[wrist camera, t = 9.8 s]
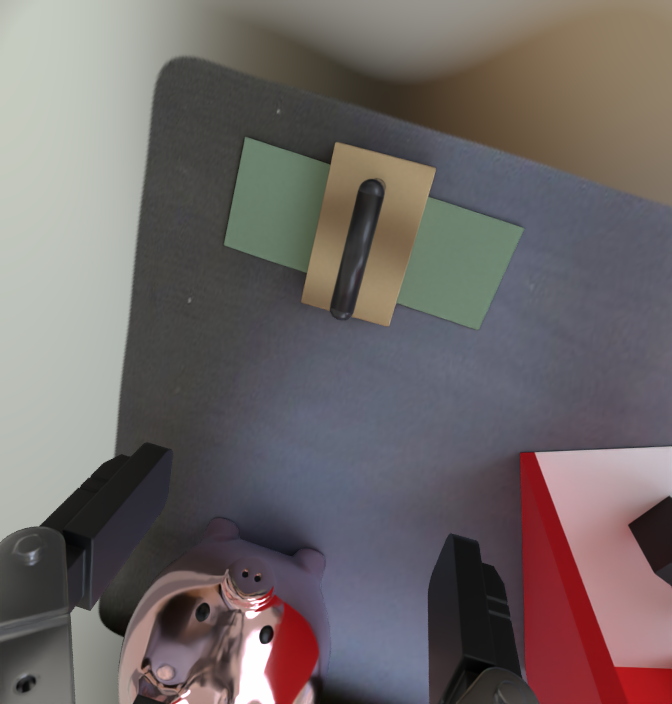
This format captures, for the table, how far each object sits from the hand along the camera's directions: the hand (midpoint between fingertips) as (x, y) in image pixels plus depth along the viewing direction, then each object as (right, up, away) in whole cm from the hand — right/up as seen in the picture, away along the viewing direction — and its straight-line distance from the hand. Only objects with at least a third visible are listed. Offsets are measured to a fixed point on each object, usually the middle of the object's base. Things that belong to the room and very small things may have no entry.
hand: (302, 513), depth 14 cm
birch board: (+3, +12, +18) cm, 22 cm away
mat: (+3, +12, +18) cm, 22 cm away
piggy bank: (-6, -15, +31) cm, 35 cm away
